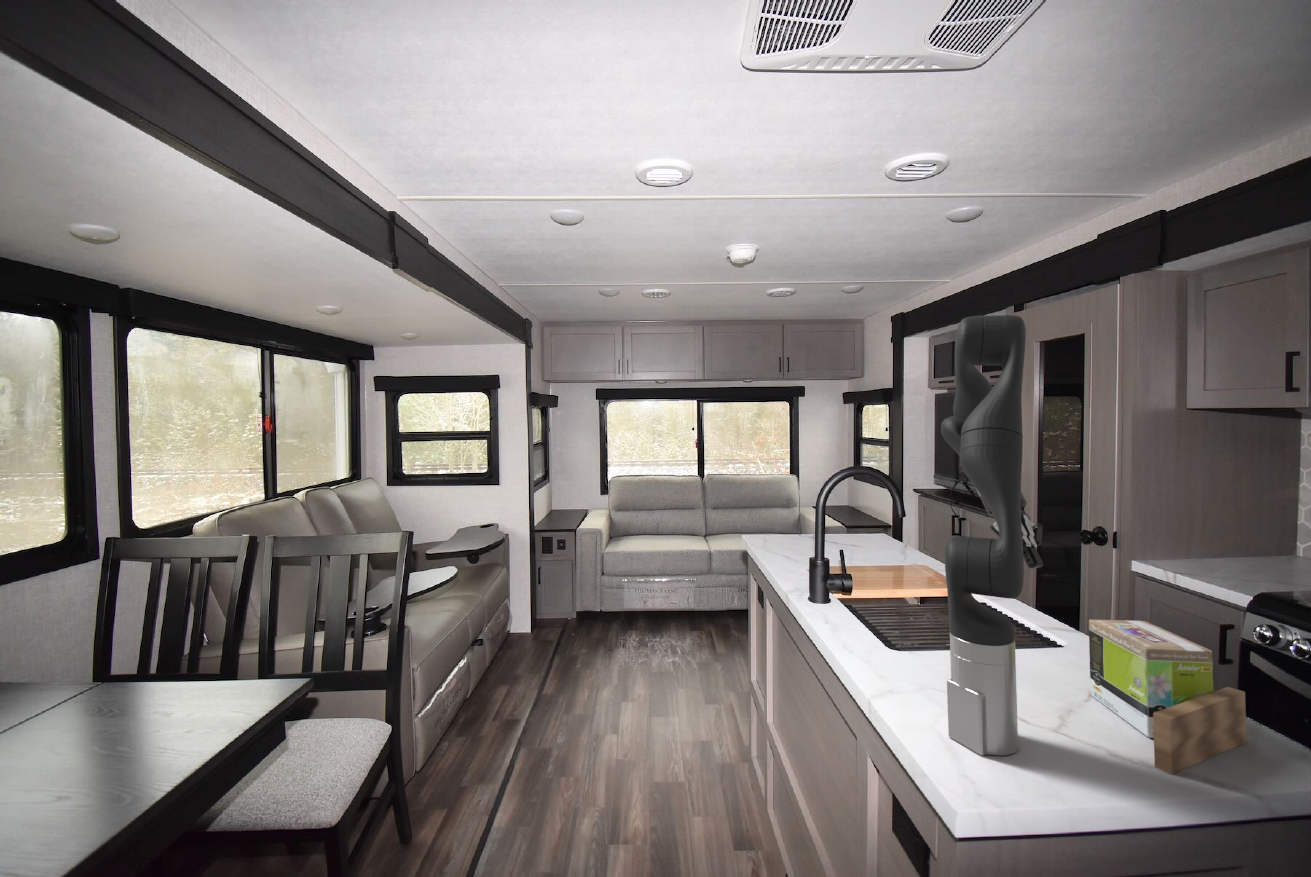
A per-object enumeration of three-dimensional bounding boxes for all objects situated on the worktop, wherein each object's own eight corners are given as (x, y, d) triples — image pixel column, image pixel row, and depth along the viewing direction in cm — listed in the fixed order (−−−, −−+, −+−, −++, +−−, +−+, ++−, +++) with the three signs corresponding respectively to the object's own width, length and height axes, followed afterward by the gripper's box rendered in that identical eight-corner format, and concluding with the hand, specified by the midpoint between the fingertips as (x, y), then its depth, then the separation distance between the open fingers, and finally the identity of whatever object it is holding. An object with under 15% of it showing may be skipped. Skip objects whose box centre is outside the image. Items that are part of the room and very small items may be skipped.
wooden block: (1171, 774, 79) (1169, 719, 79) (1154, 766, 81) (1153, 713, 81) (1246, 742, 86) (1245, 691, 86) (1229, 735, 88) (1228, 686, 88)
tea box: (1218, 743, 86) (1215, 650, 86) (1147, 739, 88) (1144, 648, 88) (1147, 697, 101) (1145, 618, 101) (1088, 695, 103) (1085, 617, 103)
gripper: (990, 479, 112) (1029, 559, 103) (1034, 484, 117) (1076, 561, 107) (962, 496, 118) (997, 573, 109) (1005, 500, 123) (1043, 574, 113)
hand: (1036, 567), depth 108 cm, fingers closed
